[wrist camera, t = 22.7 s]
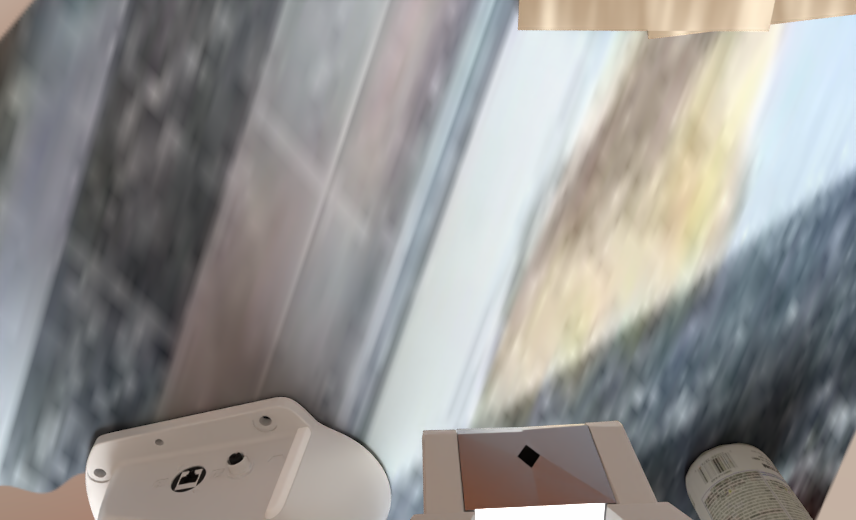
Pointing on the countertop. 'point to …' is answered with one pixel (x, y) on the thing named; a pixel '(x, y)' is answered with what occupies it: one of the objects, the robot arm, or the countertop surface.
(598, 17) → the domino
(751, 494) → the spray can
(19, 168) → the countertop surface
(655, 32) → the domino
